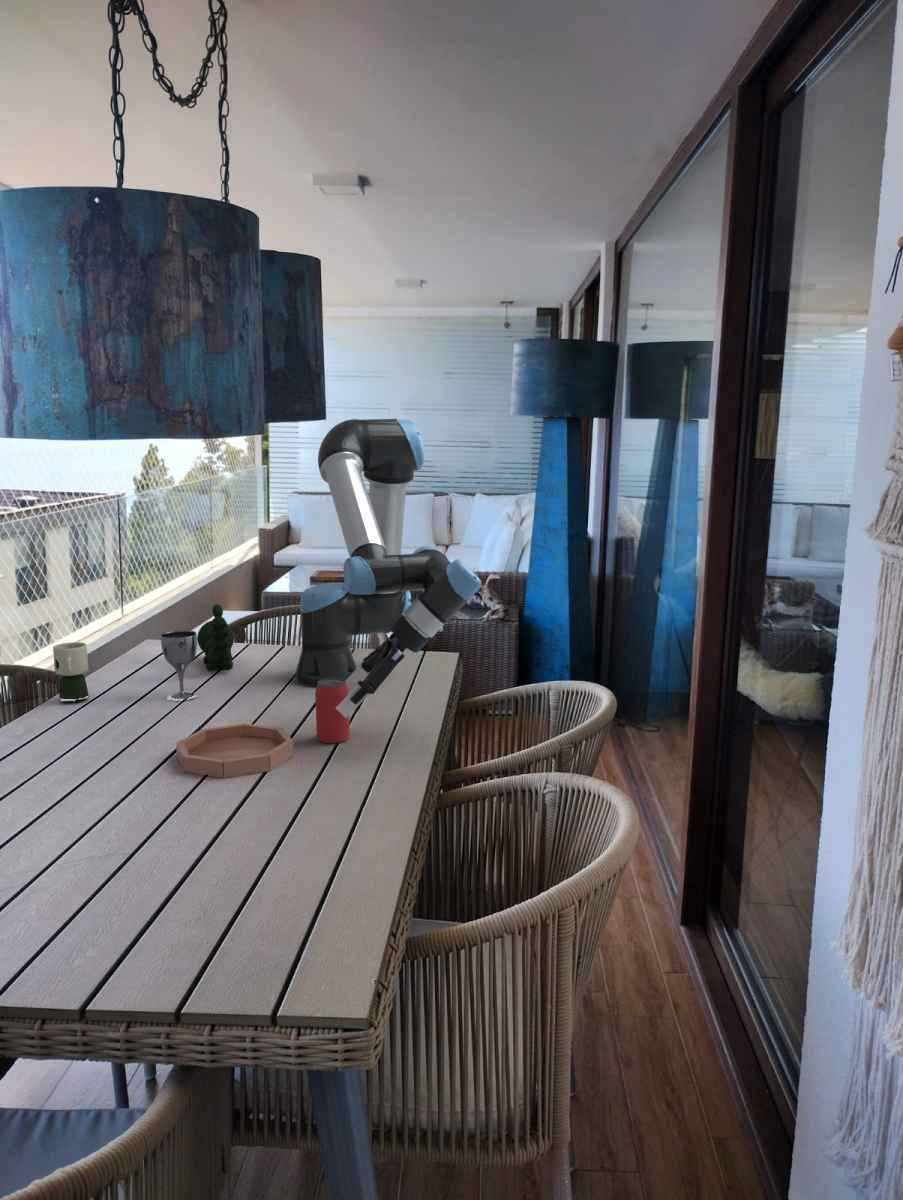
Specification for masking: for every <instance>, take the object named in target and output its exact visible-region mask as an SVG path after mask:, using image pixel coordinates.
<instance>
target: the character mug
mask: <svg viewBox="0 0 903 1200" xmlns="http://www.w3.org/2000/svg"><path fill="white" fill-rule="evenodd" d="M52 651H53V652H52V653H53V664H54V665H53V666H54V673H55V674H56V675H59V676H61V677H60V680H59V696H58V697H60V698H61V699H62V698H63V699H79V698H84V697H86V696H88V695H89V690H88V685H87V681H86V676H85V675H84V674H85V673H86V674H87V672H89V660H88V659H89V658H88V647H87V643H85V642H78V641H77V642H73V641H71V642H63V643H58V644H56V645H53V647H52Z"/></svg>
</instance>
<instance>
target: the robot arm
mask: <svg viewBox="0 0 903 1200" xmlns="http://www.w3.org/2000/svg"><path fill="white" fill-rule="evenodd" d="M317 455H318V456H317V462H318V463H317V464H318V465H317V466H318V470H319V474H320V476H321V478H322V480H323V481H324V482H325V483H327V484H328V487H329V491H330V495H331V498H332V501H333V504H334V508H335V512H336V515H337V517H338V521H339V525H340V529H341V532H342V534H343V535H342V536H343V539H344V541H345V544H346V549H347V552H348V555H349V557H347V558H346V559H345V560H344V563H343V569H342V570H343V571H342V572H343V573H342V574H343V581H344V582H341V581H340V582H339V581H338V582H337V581H336V582H326V583H320V584H317V585H313V586H310V587H307V588H306V589H305V590H303V592H302V593H301V595H300V605H299V606H300V607H299V612H300V622H301V623H300V624H301V627H300V628H301V651H300V655H299V659H298V662H297V664H296V665H297V666H296V669H295V681H296V682H297V683H298V684H300V683H301V685H304V686H308V685H309V686H310V687H317V685H318V681H319V680H321V679H325V678H341V679H344V680H345V681H346V685H347V688H348V691H349V695H348V696H347V697H346V698H345V699H344V700H343V701H342V702H341V703H340V704H339V705H338V706H337V707H336V710H338V711H339V712H340V713H341V714H342V715H343V716H344V717H345V718H347V717H348V716H349V717H350V715H351V714H352V712H354V710H355V709H357V708H358V706H359V705H361V703H362V702H363V701H364V700H365V699H366V698H367V697H368V696H369V695H374V694H375V693H376V691H377V690H378V689H379V687H380V686H382V684H383V682H384V681H385V680H386V679H387V678H388V677H389V675H390V674H391V673H392V671H393V670H394V669H395V668H396V666H398V664H399V663H400V662H402V660H403V659H404V658H405V656H406V655H405V654H404V652H405V651H406V650H410V651H411V652H412V653H419V652H420V651H421V650H422V649H423V648H424V647H425V645H426V644H427V643H428V641H429V638H433V637H434V636H435V635H436V634H437V632H439V633H441V632H443V631H444V628H443V627H444V625H446V623H448V622H449V621H450V620H451V619H452V618H453V617H454V616H455V615H456V614H457V613H458V612H459V611H460V610H461V609H462V608H463V607H464V606H465V605H466V604H467V603H468V602H469V601H470V600H471V599H472V598H473V596H474V595H475V594H476V593H477V591H478V590H479V589H480V588H481V587H482V579H480V578H479V576H477V575H476V574H475V572H474V571H473V570H472V569H471V568H470V567H469V566H468V565H467V564H466V563H464V562H463V561H462V560H460V559H454V560H453V561H452V562H451V561H450V560H449V558H448V557H447V555H446V554H444V553H443V552H442V551H440V550H439V549H438V548H436V547H434V546H431V545H424V546H420V547H419V548H417V549H416V550H414V551H413V552H412V553H408V554H407V553H405V554H404V553H403V554H402V546H403V545H402V543H403V531H404V517H405V516H404V515H405V507H406V494H407V493H406V491H407V486H408V485H409V484H410V483H412V482H413V481H414V474H415V472H417V471H420V470H421V469H422V468H423V466H424V463H425V449H424V442H423V438H422V434H421V431H420V428H419V427H418V425H417V424H416V423H415V421H413V420H410V419H399V418H379V419H378V418H376V419H375V418H372V419H371V418H370V419H358V418H353V419H347V420H344V421H341V422H339V423H337V424H336V425H335V426H333V427H332V428H331V429H330V430H329V431H328V432H327V434H326V435H325V436H324V438H323V439H322V441H321V443H320V446H319V449H318V453H317ZM362 473H363V474H362ZM364 478H365V480H366V481H367V482H368V483H369V490H368V491H367V487H366V484H365V480H364ZM416 591H417V592H418V591H422V593H421V594H420V595H419V596H418V597H416V598H415V599H414V600H413V601H412V595H411V592H416ZM411 601H412V602H411ZM389 633H391V634H390V636H389V637H388V638H387V639H386V640H385V641H383V642H382V643H380V645H378V646H377V647H376V648H375V649H374V650H373V651H371V652H370V653H369V654H368V655H367V656H366V657H364V658H363V660H362V662H361V665H359V666H358V667H357V664H356V661H355V658H354V656H353V653H352V650H351V646H350V637H351V636H361V635H372V634H389Z"/></svg>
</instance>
